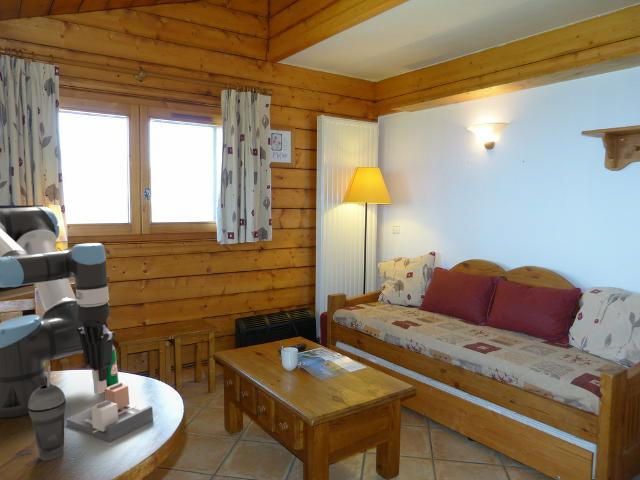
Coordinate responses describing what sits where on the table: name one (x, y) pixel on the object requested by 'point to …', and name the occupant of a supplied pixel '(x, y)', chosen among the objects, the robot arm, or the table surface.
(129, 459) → the table surface
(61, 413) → the beverage cup
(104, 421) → the block
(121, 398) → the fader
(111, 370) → the soda can
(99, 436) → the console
